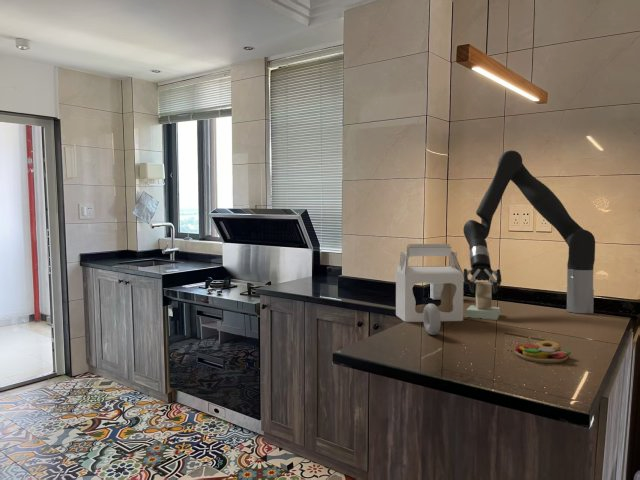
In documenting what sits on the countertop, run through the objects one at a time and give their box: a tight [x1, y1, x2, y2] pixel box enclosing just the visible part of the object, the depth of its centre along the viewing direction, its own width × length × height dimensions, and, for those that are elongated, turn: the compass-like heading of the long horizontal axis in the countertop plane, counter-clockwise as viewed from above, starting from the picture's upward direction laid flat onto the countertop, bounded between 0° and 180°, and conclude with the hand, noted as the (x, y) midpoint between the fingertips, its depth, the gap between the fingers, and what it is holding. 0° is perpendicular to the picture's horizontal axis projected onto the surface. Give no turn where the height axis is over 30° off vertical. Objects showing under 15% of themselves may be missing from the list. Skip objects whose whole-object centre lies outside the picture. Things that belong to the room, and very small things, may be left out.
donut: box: [422, 303, 442, 336], centre depth 151 cm, size 10×4×10 cm, turn 5°
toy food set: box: [514, 340, 571, 364], centre depth 126 cm, size 13×13×3 cm
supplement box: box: [429, 283, 444, 301], centre depth 227 cm, size 9×9×15 cm
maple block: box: [475, 281, 493, 310], centre depth 182 cm, size 5×5×10 cm
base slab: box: [465, 304, 501, 321], centre depth 183 cm, size 11×11×4 cm
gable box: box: [395, 243, 464, 323], centre depth 178 cm, size 22×13×28 cm, turn 95°
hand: (484, 291), depth 181 cm, fingers open, 7 cm apart
